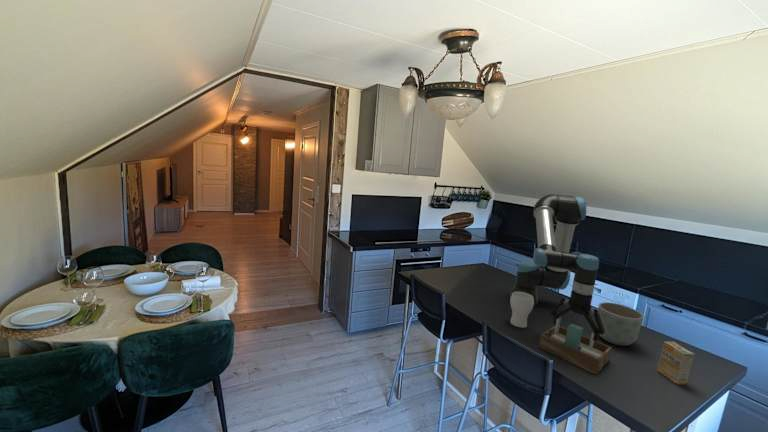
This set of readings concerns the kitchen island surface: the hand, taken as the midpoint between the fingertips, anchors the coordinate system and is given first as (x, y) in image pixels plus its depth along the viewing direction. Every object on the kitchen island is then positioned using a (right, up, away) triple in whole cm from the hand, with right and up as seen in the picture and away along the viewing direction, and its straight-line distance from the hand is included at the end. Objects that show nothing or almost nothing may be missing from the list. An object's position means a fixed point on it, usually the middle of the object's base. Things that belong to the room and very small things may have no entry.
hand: (573, 339), depth 138 cm
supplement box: (+32, -11, -11) cm, 35 cm away
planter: (+28, -6, +15) cm, 32 cm away
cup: (-13, -1, +24) cm, 27 cm away
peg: (-1, -6, +1) cm, 6 cm away
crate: (0, -6, 0) cm, 6 cm away
